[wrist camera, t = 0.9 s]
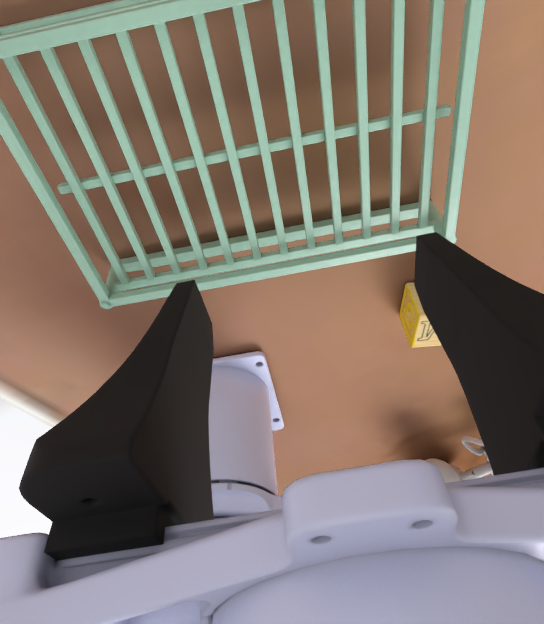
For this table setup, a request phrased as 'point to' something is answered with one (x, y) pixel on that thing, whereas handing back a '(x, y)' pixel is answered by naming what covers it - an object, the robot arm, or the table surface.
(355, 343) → the table surface
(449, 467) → the clip-on lamp
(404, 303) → the alphabet block
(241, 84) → the table surface
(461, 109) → the rack
